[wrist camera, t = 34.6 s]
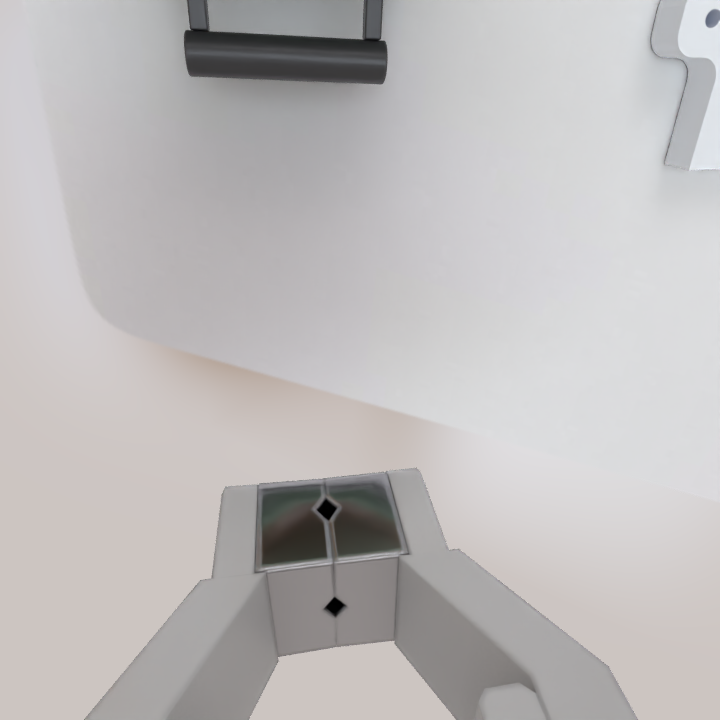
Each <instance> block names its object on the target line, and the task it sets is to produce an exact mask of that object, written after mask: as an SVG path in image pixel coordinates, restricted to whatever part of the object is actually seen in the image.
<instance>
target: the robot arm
mask: <svg viewBox="0 0 720 720" xmlns="http://www.w3.org/2000/svg"><path fill="white" fill-rule="evenodd" d="M394 640H395V645H396V646H397V647H398V648H399V649H400V651H401V652H402V653H403V655H404V656H405V657H406V658H407V660H408V661H409V662H410V663H411V664H412V666H413V667H414V668H415V669H416V671H417V672H418V673H419V674H420V675H421V677H422V678H423V679H424V680H425V682H426V683H427V684H428V685H429V687H430V688H431V689H432V690H433V692H434V693H435V694H436V695H437V696H438V698H439V699H440V700H441V701H442V703H443V704H444V705H445V706H446V708H447V709H448V710H449V711H450V712H451V714H452V715H453V716H454V717H455V719H456V720H638V719H637V717H636V715H635V713H634V711H633V710H632V708H631V706H630V704H629V702H628V701H627V699H626V697H625V695H624V693H623V692H622V690H621V688H620V686H619V685H618V683H617V681H616V679H615V677H614V675H613V673H612V672H611V670H610V668H609V666H607V665H606V664H605V663H604V662H602V661H601V660H600V659H599V658H597V657H596V656H595V655H593V654H592V653H591V652H590V651H588V650H587V649H586V648H584V647H583V646H582V645H581V644H579V643H578V642H577V641H576V640H574V639H573V638H572V637H570V636H569V635H568V634H567V633H565V632H564V631H563V630H562V629H560V628H559V627H558V626H556V625H555V624H554V623H553V622H551V621H550V620H549V619H548V618H546V617H545V616H544V615H542V614H541V613H540V612H539V611H537V610H536V609H535V608H533V607H532V606H531V605H530V604H528V603H527V602H526V601H525V600H523V599H522V598H521V597H519V596H518V595H517V594H516V593H514V592H513V591H512V590H511V589H509V588H508V587H507V586H505V585H504V584H503V583H502V582H500V581H499V580H498V579H497V578H495V577H494V576H493V575H491V574H490V573H489V572H488V571H486V570H485V569H484V568H482V567H481V566H480V565H479V564H477V563H476V562H475V561H474V560H472V559H471V558H470V557H468V556H467V555H466V554H465V553H463V552H462V551H461V550H459V549H453V550H449V549H448V546H447V543H446V541H445V538H444V536H443V532H442V530H441V527H440V524H439V522H438V519H437V516H436V513H435V511H434V508H433V505H432V502H431V499H430V496H429V494H428V491H427V488H426V485H425V483H424V480H423V477H422V475H421V472H420V471H419V470H418V469H417V468H410V469H401V470H393V471H386V472H378V473H369V474H360V475H350V476H342V477H332V478H323V479H312V480H299V481H286V482H273V483H261V484H259V485H243V486H229V487H225V489H224V491H223V493H222V497H221V505H220V513H219V521H218V529H217V538H216V546H215V554H214V563H213V571H212V578H211V579H205V580H200V582H199V583H198V584H197V585H196V586H195V587H194V589H193V590H192V591H191V592H190V593H189V594H188V596H187V597H186V598H185V599H184V600H183V602H182V603H181V604H180V605H179V606H178V608H177V609H176V610H175V611H174V612H173V614H172V615H171V616H170V617H169V618H168V620H167V621H166V622H165V623H164V624H163V626H162V627H161V628H160V630H158V632H157V633H156V634H155V635H154V637H153V638H152V639H151V640H150V641H149V643H148V644H147V645H146V646H145V647H144V648H143V650H142V651H141V652H140V653H139V655H138V656H137V657H136V658H135V659H134V660H133V662H132V663H131V664H130V665H129V667H128V668H127V669H126V670H125V671H124V673H123V674H122V675H121V676H120V677H119V679H118V680H117V681H116V682H115V683H114V684H113V686H112V687H111V688H110V689H109V691H108V692H107V693H106V694H105V695H104V696H103V698H102V699H101V700H100V701H99V703H98V704H97V705H96V706H95V707H94V708H93V710H92V711H91V712H90V713H89V714H88V716H87V717H86V718H85V719H84V720H249V718H250V716H251V714H252V712H253V710H254V708H255V706H256V704H257V702H258V700H259V698H260V696H261V694H262V692H263V690H264V688H265V686H266V684H267V682H268V680H269V678H270V676H271V674H272V673H273V671H274V668H275V667H276V665H277V663H278V657H280V656H286V655H292V654H297V653H304V652H310V651H316V650H321V649H327V648H333V647H341V646H349V645H358V644H367V643H376V642H385V641H394Z"/></svg>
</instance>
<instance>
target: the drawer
mask: <svg viewBox="0 0 720 720" xmlns="http://www.w3.org/2000/svg"><path fill="white" fill-rule="evenodd" d="M187 4H188V13H189V23H190V29H191V30H186V31H185V33H184V49H185V58H186V64H187V69H188V72H189V75H190V76H192V77H216V78H241V79H265V80H289V81H313V82H337V83H361V84H383V83H384V81H385V77H386V71H387V45H386V42H385V41H380V39H381V29H382V10H383V0H364V13H363V39H364V40H362V39H343V38H324V37H306V36H287V35H269V34H250V33H232V32H213V31H209V30H210V28H209V16H208V5H207V0H187Z"/></svg>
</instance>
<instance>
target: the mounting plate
mask: <svg viewBox="0 0 720 720" xmlns="http://www.w3.org/2000/svg"><path fill="white" fill-rule="evenodd" d="M651 45H652V48H653V51H654V52H655V54H656V55H658V56H659V57H663V58H679V59H681V60H683V61H684V62H685V64H686V66H687V69H688V78H687V83H686V86H685V90H684V94H683V97H682V101H681V105H680V108H679V112H678V116H677V119H676V123H675V127H674V130H673V134H672V138H671V141H670V145H669V149H668V152H667V156H666V160H665V163H664V164H666V165H670V166H674V167H677V168H681V169H685V170H716V169H720V0H661V1H660V3H659V6H658V10H657V14H656V18H655V23H654V27H653V31H652V37H651Z"/></svg>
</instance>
